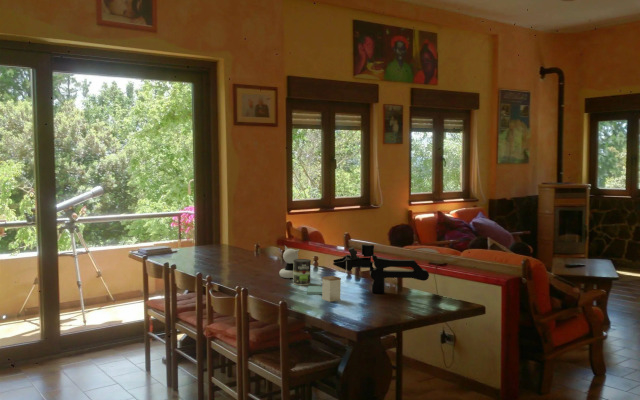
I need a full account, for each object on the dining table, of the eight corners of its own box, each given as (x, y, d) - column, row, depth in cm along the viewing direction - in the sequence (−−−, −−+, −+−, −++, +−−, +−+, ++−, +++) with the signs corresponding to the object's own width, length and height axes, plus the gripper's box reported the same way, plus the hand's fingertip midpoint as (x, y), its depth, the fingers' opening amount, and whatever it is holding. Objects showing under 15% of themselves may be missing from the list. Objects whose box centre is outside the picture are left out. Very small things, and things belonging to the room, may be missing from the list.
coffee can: (312, 285, 341) (312, 261, 340) (295, 285, 338) (295, 261, 337) (308, 281, 351) (308, 258, 350) (291, 282, 348) (291, 258, 347)
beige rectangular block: (332, 297, 310) (333, 275, 309) (340, 300, 304) (340, 278, 303) (321, 299, 306) (322, 277, 305) (329, 301, 300) (329, 279, 299)
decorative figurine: (306, 276, 368) (307, 244, 367) (296, 280, 355) (296, 247, 354) (286, 273, 374) (286, 243, 373) (275, 277, 361) (275, 245, 360)
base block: (334, 289, 331) (334, 286, 331) (334, 295, 316) (334, 292, 316) (308, 289, 332) (308, 285, 332) (306, 295, 317) (306, 291, 317)
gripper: (360, 245, 331) (333, 245, 331) (362, 250, 312) (333, 250, 313) (360, 265, 332) (333, 264, 332) (362, 271, 313) (333, 270, 314)
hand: (333, 262), depth 323 cm, fingers open, 9 cm apart
